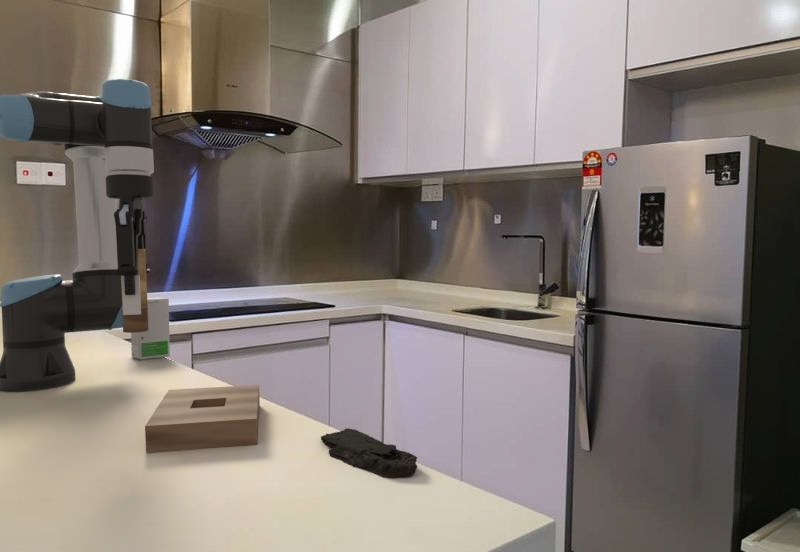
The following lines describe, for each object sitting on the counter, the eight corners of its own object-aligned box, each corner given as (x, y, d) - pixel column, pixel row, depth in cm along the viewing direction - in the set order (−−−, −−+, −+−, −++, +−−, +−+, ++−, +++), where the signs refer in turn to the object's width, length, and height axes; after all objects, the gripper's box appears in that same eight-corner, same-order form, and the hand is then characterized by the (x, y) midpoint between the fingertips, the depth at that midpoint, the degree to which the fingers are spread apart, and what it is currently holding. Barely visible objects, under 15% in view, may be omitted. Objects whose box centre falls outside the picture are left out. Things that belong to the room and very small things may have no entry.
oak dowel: (126, 329, 109) (123, 249, 108) (150, 328, 110) (147, 248, 109) (120, 333, 105) (117, 249, 104) (145, 332, 106) (142, 249, 105)
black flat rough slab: (303, 444, 97) (303, 424, 97) (345, 434, 101) (344, 415, 101) (384, 491, 79) (383, 468, 79) (430, 477, 83) (429, 454, 83)
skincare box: (139, 360, 161) (136, 300, 160) (130, 357, 166) (128, 298, 165) (171, 356, 166) (169, 297, 165) (162, 352, 171) (160, 296, 170)
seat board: (169, 411, 114) (168, 389, 114) (259, 405, 117) (259, 384, 117) (145, 452, 92) (144, 426, 92) (257, 444, 96) (256, 418, 95)
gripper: (118, 179, 113) (123, 308, 115) (91, 169, 97) (97, 320, 98) (162, 179, 115) (166, 306, 116) (142, 169, 98) (148, 318, 100)
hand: (135, 312), depth 107 cm, fingers closed on oak dowel, 4 cm apart
